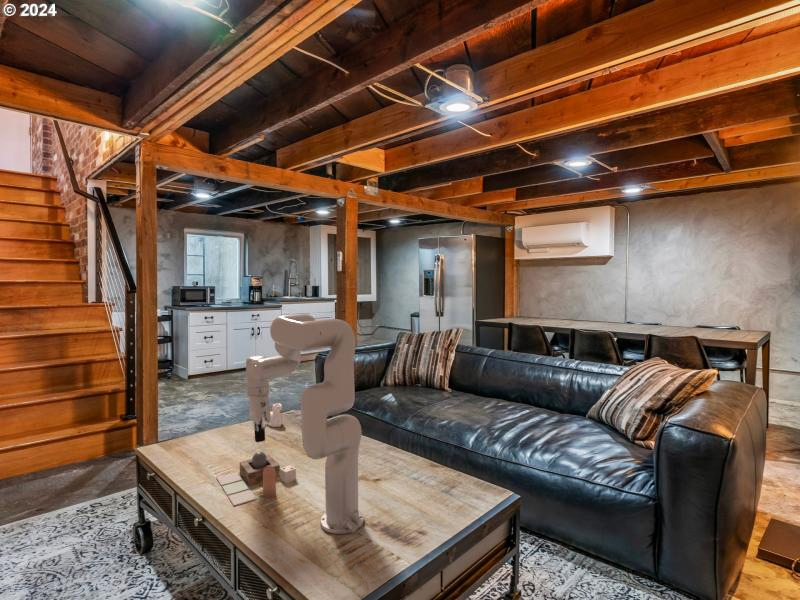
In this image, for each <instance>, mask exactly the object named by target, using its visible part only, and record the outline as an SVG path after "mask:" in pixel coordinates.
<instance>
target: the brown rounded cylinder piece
mask: <svg viewBox="0 0 800 600" xmlns="http://www.w3.org/2000/svg"><path fill="white" fill-rule="evenodd" d="M276 479H277V477H276V472H275V469H274V468H273V467H271V466H268V467H266V468H265V469H264V471H263V481H262V492H263V495H262V496H263V497H264V498H265V499H271V498H273V497H276V495H277V486H276V485H277V484H276V483H277V481H276Z"/></svg>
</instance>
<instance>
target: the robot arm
mask: <svg viewBox="0 0 800 600" xmlns="http://www.w3.org/2000/svg"><path fill="white" fill-rule="evenodd" d="M269 331H270V332H269V333H270V334H269V335H270V337H271V339H272V341H273V342H274V349H275V351H276V352H277V354H278V355H277V356H271V357H267V356H265V355H253V356H250V357H247V359H246V361H245V370H246V394H247V397H248V398H249V399H248V402H249V403H248V404H249V405H248V406H249V407H248V408H249V411H248V413H249V418H250V420H251V421H253V428H254V441H255V442H256V443H261V442H265V441H266V428H267V423H266V422H265V420H266V421H267V422H268V423H269V422H271V415H270V412H271V407H270V404H271V403H270V398H269V395H270V380H274V379H278V378H284V377H288V376H290V375H291V374H292V373H294V371H296V369H297V368H298V367H299V366H300V363H301V361H302V360H301V359H302V354H301V352H312V351H318V350H323V349H329V348H330V351H329V352H328V354H327V355H326V358H325V361H324V366H323V372H324V375H323V376H324V378H323V382H319V383H314V384H311V385H309V386H308V387H307V388H305V390H304V391H303V393H302V394H301V399H300V416H301V417H300V418H301V419H300V420H301V438H302V446H303V449H304V452H305V454H306V455H307V457H308V458H310V459H312V460H320V459H324V458H326V459H325V468H324V470H325V473H324V474H325V476H324V479H325V480H324V483H325V484H324V485H325V487H324V488H325V512H324V513H323V514H322V515H321V517H320V522H319V523H320V527H321V529H322V530H324V531H326V532H327V533H329V534H334V535H343V534H344V535H346V534H349V533H350V534H351V533H355V532H356V531H357V530H358V529H360V528H361V527H362V526H363V524H364V514H363V512H362V511H361V510H359V452H360V451H359V450H360V445H361V439H362V426H361V423H360V421H359V419H358V418H357V417H356V416H354V415H352V414H340V413H343V412H346V411H348V410H350V409H352V407H353V406H354V404H355V400H356V397H355V396H356V394H355V391H356V389H355V367H354V366H355V365H354V362H355V361H354V360H355V352H356V336H355V332H354V330H353V328H352V326H351V325H350V324H349V323H348V322H346V321H345V320H342V319H339V318H338V319H337V318H325V319H317V320H316V318H315V317H314V316H311V315H309V314H306V313H299V314H298V313H297V314H287V315H280V316H278V317H276V318H275V319H274V320H272V323H271V324H270V330H269ZM336 414H337V415H336ZM338 414H339V415H338ZM334 415H336V416H334ZM330 416H333V417H330ZM328 417H330V418H328Z"/></svg>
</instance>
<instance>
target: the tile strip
mask: <svg viewBox="0 0 800 600" xmlns="http://www.w3.org/2000/svg"><path fill="white" fill-rule="evenodd" d="M216 480H217V482H218V484H220V486H221V488H222V490H223V491H224V493H225V495H226V497H228V499H229V501H230V502H231V504H232V506H233V507H236V506H241V505H243V504H246V503H250V502H253V501H256V500H257V497H256V496H255V495H254V493H253V492H252V491H251V489H250V488H249V486H248V485H247V484H246V483H245V482H246V481H244V480H243V479H242V477H241V475H240V473H238V472H237V471H235V472H232V473H228V474H224V475H219V476H217V477H216Z"/></svg>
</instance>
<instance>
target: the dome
mask: <svg viewBox="0 0 800 600" xmlns="http://www.w3.org/2000/svg"><path fill="white" fill-rule="evenodd" d="M266 456H267V455H266V453H265V452H264V451H258V452H255V453H254V454H253V455H252V458H251V459H252V468H253V469H256V468H260V467H264V466H267V457H266Z"/></svg>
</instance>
